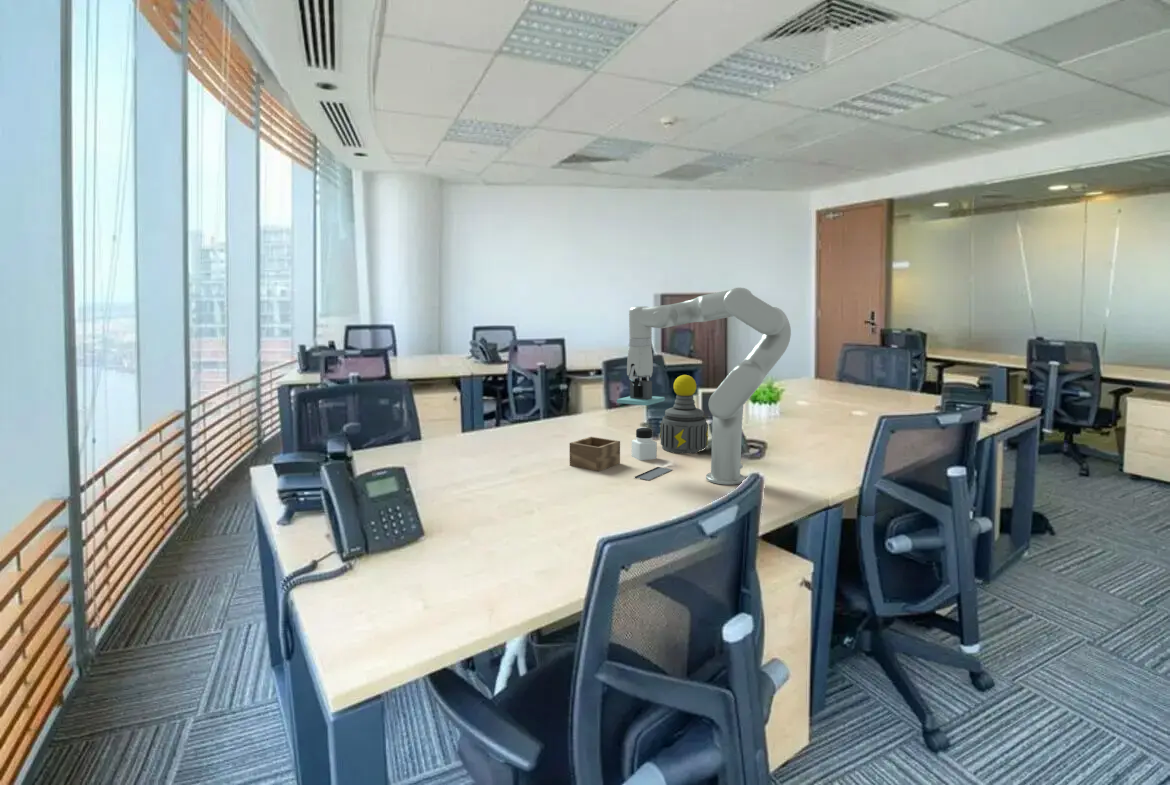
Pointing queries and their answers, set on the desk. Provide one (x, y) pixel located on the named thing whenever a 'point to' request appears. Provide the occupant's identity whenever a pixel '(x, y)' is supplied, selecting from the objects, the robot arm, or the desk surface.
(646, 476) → the mat
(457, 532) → the desk surface
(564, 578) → the desk surface
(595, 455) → the box
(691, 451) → the decorative lamp
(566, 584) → the desk surface
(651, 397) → the lid
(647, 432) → the medicine bottle
